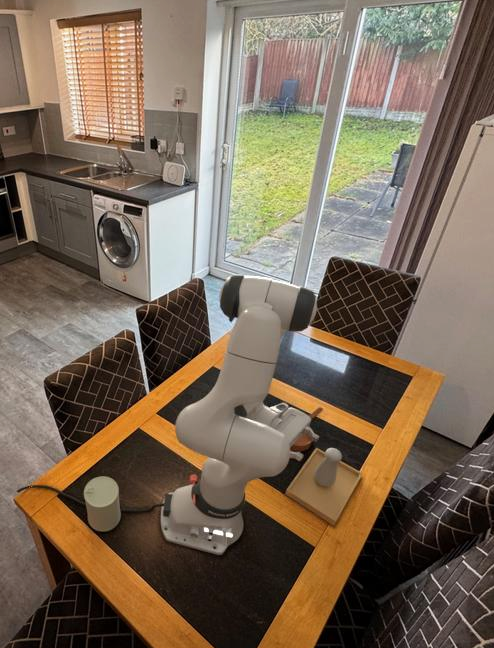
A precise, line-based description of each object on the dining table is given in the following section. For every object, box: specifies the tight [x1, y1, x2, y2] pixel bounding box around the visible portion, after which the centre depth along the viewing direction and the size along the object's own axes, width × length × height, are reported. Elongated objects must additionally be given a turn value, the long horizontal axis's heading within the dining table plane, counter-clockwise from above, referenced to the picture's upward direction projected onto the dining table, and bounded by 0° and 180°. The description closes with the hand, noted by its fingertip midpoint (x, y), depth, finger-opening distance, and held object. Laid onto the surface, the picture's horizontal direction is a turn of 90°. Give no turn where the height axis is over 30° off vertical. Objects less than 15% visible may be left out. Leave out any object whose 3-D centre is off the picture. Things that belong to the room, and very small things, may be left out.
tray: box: [284, 447, 364, 527], centre depth 118 cm, size 20×14×2 cm
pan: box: [290, 425, 313, 453], centre depth 133 cm, size 12×12×3 cm
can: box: [83, 475, 122, 532], centre depth 108 cm, size 9×9×12 cm
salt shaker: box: [314, 447, 343, 487], centre depth 115 cm, size 6×6×13 cm
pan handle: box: [308, 406, 324, 422], centre depth 138 cm, size 11×1×1 cm, turn 130°
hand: (309, 448), depth 117 cm, fingers open, 8 cm apart
